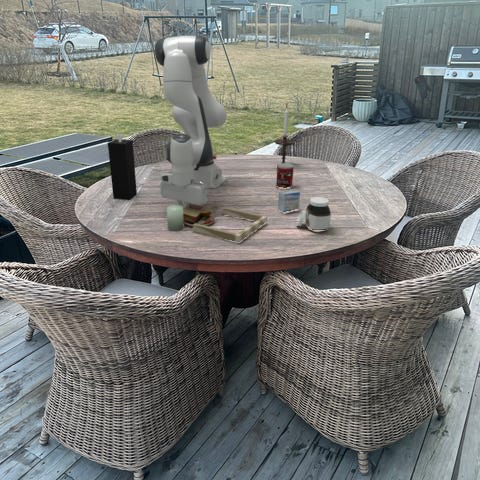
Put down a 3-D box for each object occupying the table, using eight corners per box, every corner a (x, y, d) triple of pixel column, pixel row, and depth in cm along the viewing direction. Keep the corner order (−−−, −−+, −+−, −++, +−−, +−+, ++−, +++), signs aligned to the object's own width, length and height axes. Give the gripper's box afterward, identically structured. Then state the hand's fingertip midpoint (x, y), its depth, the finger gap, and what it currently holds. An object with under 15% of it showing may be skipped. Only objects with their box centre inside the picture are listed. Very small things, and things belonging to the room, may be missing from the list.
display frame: (224, 213, 182) (224, 206, 181) (266, 223, 174) (267, 216, 172) (193, 232, 165) (192, 224, 164) (238, 243, 156) (239, 236, 155)
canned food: (274, 188, 214) (275, 166, 210) (279, 184, 221) (280, 162, 216) (289, 190, 212) (290, 168, 207) (293, 186, 218) (295, 164, 214)
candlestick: (287, 170, 244) (291, 104, 229) (270, 167, 249) (273, 102, 234) (296, 166, 252) (301, 102, 237) (279, 163, 257) (283, 100, 243)
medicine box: (282, 214, 183) (284, 194, 180) (277, 211, 187) (278, 191, 183) (298, 211, 187) (300, 192, 183) (292, 208, 190) (294, 188, 186)
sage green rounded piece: (174, 223, 172) (173, 203, 169) (186, 226, 169) (186, 206, 166) (164, 228, 167) (163, 208, 164) (177, 232, 165) (176, 211, 161)
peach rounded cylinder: (194, 204, 192) (193, 188, 189) (205, 206, 190) (205, 191, 187) (185, 208, 187) (185, 192, 185) (197, 211, 185) (197, 195, 182)
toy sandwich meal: (205, 230, 166) (205, 219, 164) (174, 224, 171) (173, 213, 169) (219, 219, 177) (219, 208, 175) (189, 214, 182) (189, 203, 180)
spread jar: (331, 233, 167) (335, 203, 162) (304, 236, 164) (306, 206, 159) (317, 221, 177) (320, 193, 172) (291, 223, 174) (293, 195, 169)
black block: (129, 200, 195) (124, 136, 183) (113, 199, 196) (106, 134, 184) (137, 194, 202) (132, 132, 190) (121, 193, 203) (115, 131, 191)
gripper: (209, 180, 170) (209, 214, 175) (167, 171, 179) (168, 204, 185) (200, 184, 165) (200, 219, 171) (157, 175, 174) (158, 208, 180)
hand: (183, 211), depth 178 cm, fingers closed
